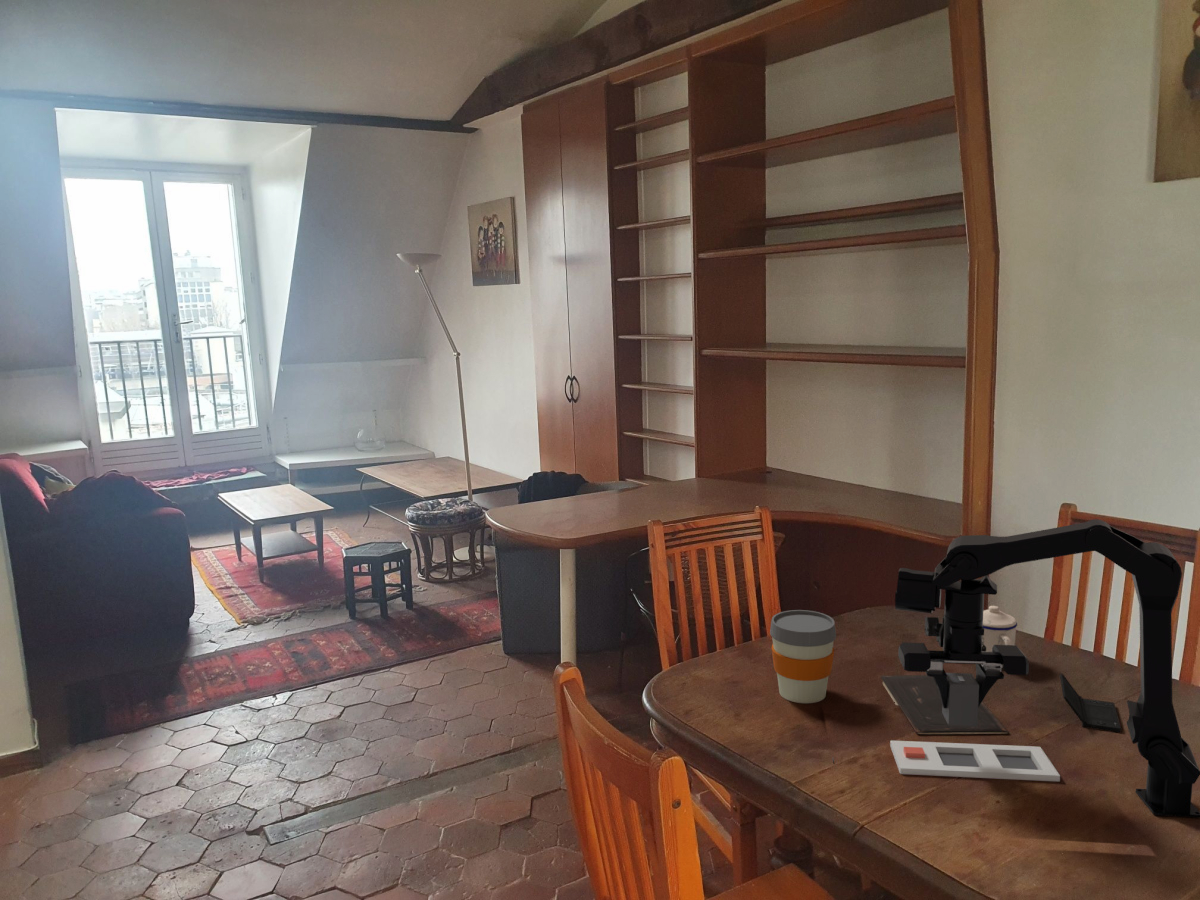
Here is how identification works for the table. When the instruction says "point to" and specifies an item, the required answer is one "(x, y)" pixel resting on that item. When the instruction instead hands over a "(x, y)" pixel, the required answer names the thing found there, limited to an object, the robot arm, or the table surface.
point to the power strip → (973, 760)
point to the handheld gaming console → (1091, 709)
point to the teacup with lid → (997, 629)
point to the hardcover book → (933, 707)
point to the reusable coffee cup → (802, 654)
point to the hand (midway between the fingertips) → (959, 707)
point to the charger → (961, 700)
